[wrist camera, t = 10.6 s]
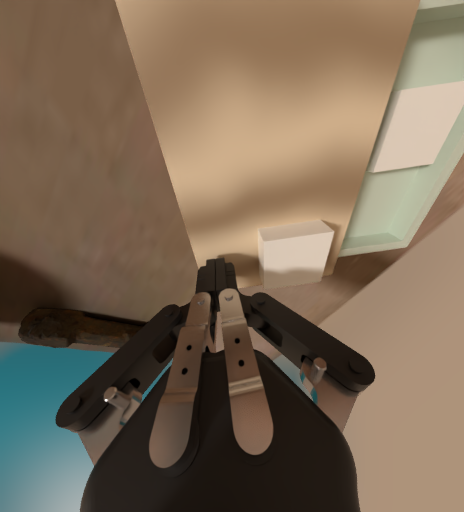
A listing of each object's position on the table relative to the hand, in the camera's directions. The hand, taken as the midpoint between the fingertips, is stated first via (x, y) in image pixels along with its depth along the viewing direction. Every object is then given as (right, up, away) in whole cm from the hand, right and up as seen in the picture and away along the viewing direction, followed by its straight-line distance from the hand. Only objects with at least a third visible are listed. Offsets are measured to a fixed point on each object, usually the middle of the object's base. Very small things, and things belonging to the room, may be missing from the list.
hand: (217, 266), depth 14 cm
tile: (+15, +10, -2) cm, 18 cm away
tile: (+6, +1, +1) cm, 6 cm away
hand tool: (-18, -10, +13) cm, 24 cm away
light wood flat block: (+4, +8, +2) cm, 9 cm away
